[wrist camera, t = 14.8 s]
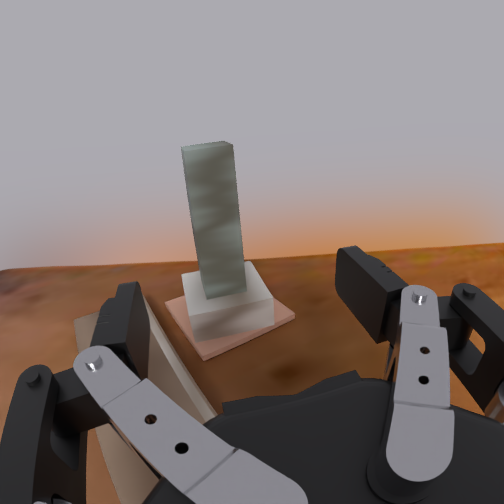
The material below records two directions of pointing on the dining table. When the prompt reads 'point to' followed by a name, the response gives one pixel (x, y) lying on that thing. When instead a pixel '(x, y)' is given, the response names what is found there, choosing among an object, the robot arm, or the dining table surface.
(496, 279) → the dining table surface
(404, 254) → the dining table surface
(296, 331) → the dining table surface
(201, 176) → the tall grey square pillar
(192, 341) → the end pad
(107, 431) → the grey-brown board
